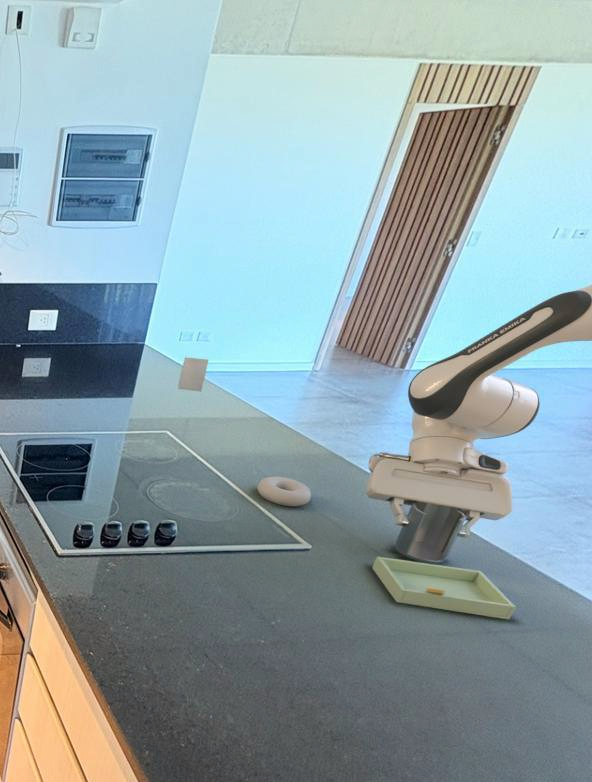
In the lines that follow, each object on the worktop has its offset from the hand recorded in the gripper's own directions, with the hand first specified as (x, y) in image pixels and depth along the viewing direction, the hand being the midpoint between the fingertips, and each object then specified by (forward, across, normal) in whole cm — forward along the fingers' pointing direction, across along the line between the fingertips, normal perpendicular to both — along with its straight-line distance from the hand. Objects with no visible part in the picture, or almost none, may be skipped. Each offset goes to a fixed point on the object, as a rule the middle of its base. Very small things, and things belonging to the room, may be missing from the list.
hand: (431, 530), depth 111 cm
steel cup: (+3, 0, +4) cm, 5 cm away
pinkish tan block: (-58, -42, +67) cm, 98 cm away
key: (+13, -1, -8) cm, 16 cm away
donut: (-6, -21, +15) cm, 27 cm away
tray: (+12, 0, -4) cm, 13 cm away
